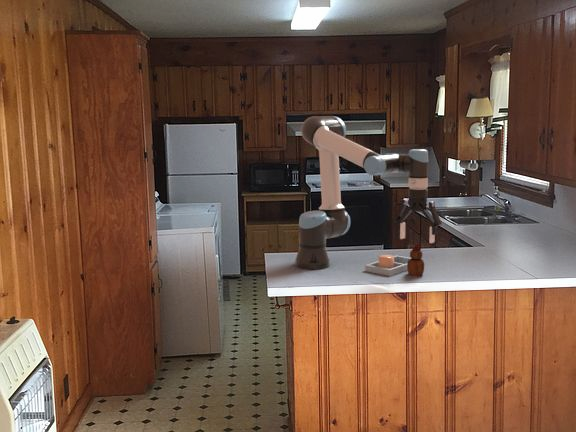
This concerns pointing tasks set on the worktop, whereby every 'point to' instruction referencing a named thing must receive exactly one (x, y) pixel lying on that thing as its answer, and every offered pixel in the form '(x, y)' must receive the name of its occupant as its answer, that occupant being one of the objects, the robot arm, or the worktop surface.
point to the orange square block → (386, 261)
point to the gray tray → (399, 267)
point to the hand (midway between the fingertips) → (417, 240)
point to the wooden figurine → (416, 261)
